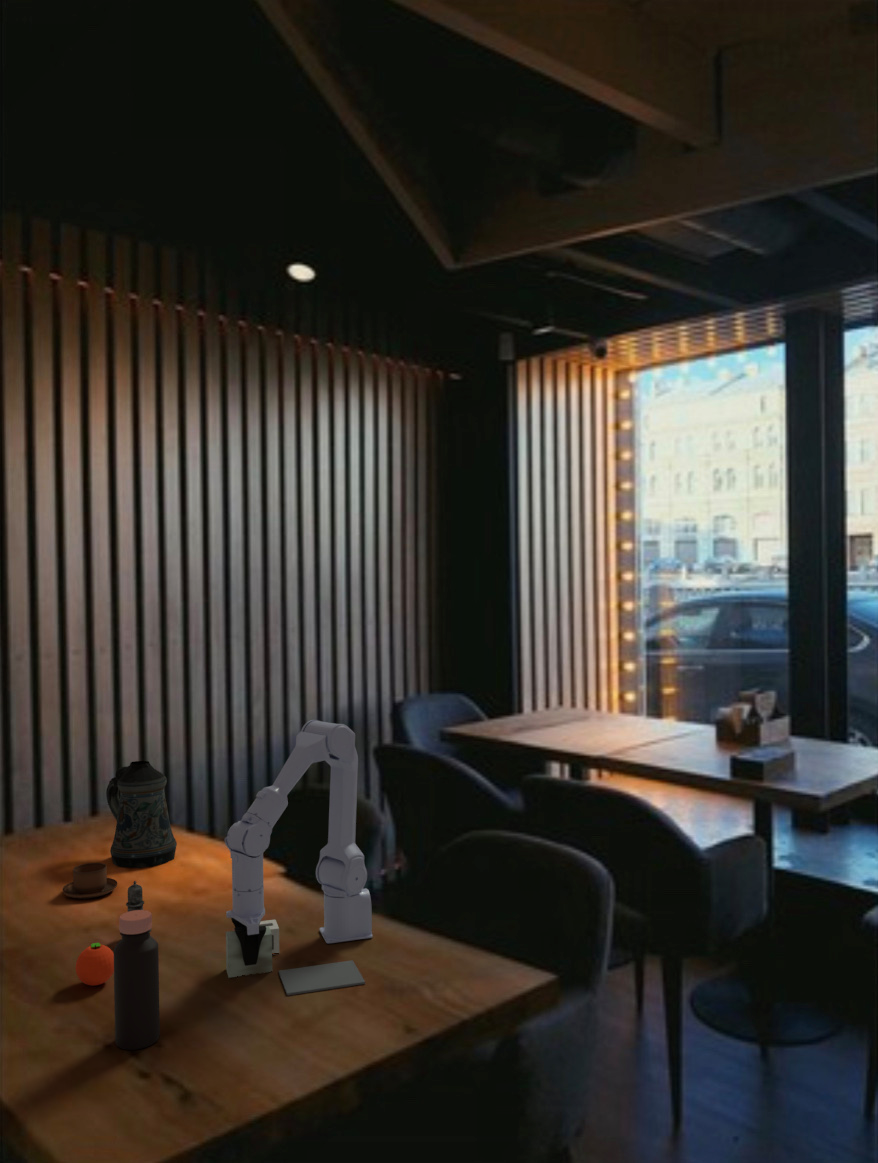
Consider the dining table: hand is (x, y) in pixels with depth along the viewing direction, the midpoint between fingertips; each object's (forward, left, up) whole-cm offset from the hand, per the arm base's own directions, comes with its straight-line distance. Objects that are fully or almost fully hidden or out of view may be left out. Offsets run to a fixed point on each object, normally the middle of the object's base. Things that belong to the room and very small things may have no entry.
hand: (249, 959), depth 178 cm
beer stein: (+19, -80, -2) cm, 82 cm away
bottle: (+20, +21, -2) cm, 29 cm away
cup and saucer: (+30, -56, -2) cm, 64 cm away
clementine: (+27, -4, -2) cm, 27 cm away
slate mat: (-12, +8, -2) cm, 15 cm away
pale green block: (0, 0, -2) cm, 2 cm away
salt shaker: (+20, -23, -2) cm, 31 cm away
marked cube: (-4, -9, -2) cm, 10 cm away
